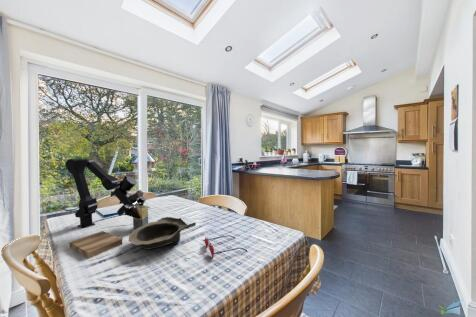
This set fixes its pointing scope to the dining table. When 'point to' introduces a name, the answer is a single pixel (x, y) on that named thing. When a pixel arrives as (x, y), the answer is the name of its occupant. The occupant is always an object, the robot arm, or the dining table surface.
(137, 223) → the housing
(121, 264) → the dining table surface
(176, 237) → the stone bowl
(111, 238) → the walnut stand
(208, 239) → the glasses
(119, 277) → the dining table surface
